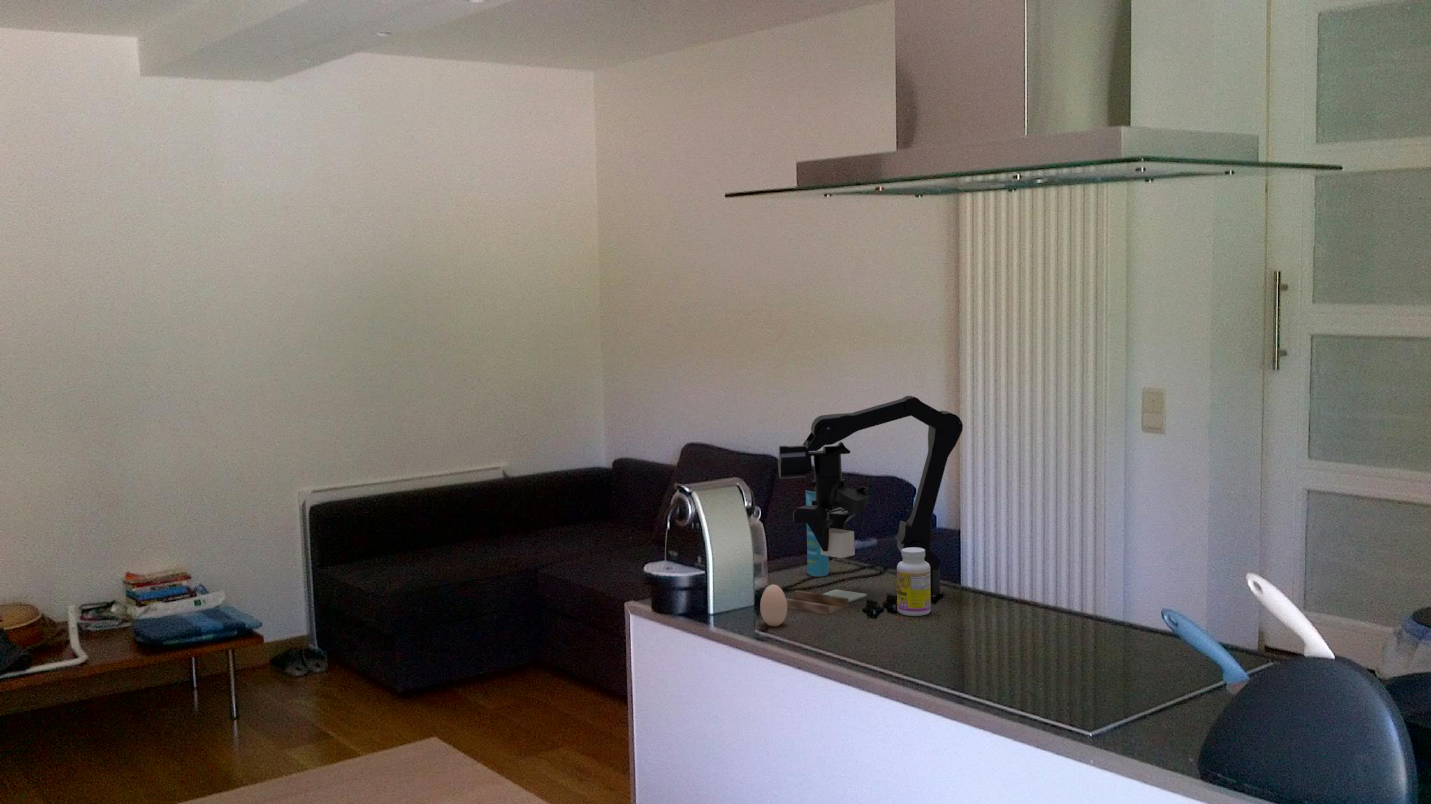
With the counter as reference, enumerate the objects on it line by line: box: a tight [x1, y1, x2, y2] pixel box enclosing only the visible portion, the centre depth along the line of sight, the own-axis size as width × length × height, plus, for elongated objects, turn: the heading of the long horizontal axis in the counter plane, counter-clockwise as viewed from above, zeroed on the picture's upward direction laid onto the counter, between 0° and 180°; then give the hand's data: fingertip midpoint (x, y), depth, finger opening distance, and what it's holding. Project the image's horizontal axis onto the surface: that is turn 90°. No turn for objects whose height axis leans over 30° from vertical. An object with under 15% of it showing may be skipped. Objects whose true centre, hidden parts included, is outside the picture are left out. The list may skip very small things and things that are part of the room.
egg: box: [759, 584, 788, 627], centre depth 245 cm, size 5×5×8 cm
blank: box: [821, 528, 856, 559], centre depth 264 cm, size 6×4×5 cm, turn 41°
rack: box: [786, 589, 850, 616], centre depth 259 cm, size 13×8×2 cm, turn 50°
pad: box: [822, 588, 868, 603], centre depth 266 cm, size 8×8×1 cm
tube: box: [805, 490, 830, 577], centre depth 289 cm, size 7×5×19 cm, turn 43°
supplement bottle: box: [896, 547, 932, 617], centre depth 252 cm, size 7×7×13 cm
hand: (831, 549), depth 266 cm, fingers closed on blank, 4 cm apart
